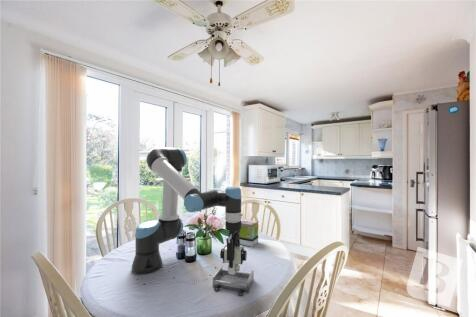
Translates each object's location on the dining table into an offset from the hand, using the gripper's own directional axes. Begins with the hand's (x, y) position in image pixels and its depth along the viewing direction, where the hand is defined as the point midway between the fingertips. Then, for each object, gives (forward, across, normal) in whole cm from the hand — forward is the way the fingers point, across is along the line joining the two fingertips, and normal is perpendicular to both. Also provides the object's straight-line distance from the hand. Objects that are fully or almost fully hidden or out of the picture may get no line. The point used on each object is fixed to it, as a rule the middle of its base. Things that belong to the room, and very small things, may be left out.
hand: (233, 270), depth 101 cm
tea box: (+6, +50, +7) cm, 50 cm away
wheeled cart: (+6, -1, 0) cm, 6 cm away
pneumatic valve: (+1, 0, 0) cm, 1 cm away
